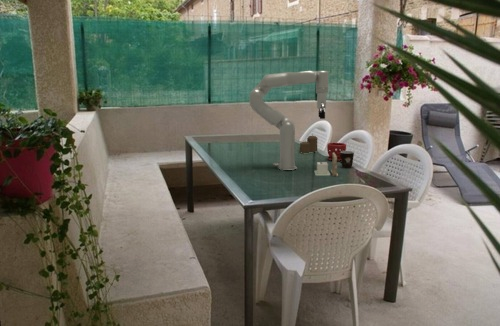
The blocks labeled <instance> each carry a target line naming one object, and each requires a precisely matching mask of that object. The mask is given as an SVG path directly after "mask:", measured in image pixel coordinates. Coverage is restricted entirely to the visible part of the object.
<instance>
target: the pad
mask: <svg viewBox="0 0 500 326" xmlns="http://www.w3.org/2000/svg"><path fill="white" fill-rule="evenodd" d="M313 172H314V175H315V177H319V176H321V177H323V176H324V177H325V176H326V177H329V176H331V173H330V171H329V170H328V174H318V173H317V170H314V171H313Z"/></svg>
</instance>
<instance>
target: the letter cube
mask: <svg viewBox="0 0 500 326" xmlns="http://www.w3.org/2000/svg"><path fill="white" fill-rule="evenodd" d="M328 167H329V163H328V162H327V161H321V162H320V161H319V162H318V161H317V162H316V171H317V173H318V174H328V171H329V169H328Z"/></svg>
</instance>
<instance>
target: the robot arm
mask: <svg viewBox="0 0 500 326" xmlns="http://www.w3.org/2000/svg"><path fill="white" fill-rule="evenodd" d="M313 83H315V94H316V95H317V97H316V98H317V99H316V101H317V102H316V108H317V110H318V118H319V119H322V120H325V119H326V110H325V109H326V108H327V94H329V71H327V70H305V71H297V72H295V71H294V72H293V71H292V72H291V71H289V72H288V71H285V72H277V73H269V74H265V75H264V76H263V77H262V79H260V81H259V83H258V84H256V86H254V88H253V89H252V90H251V91H250V93H249V97H248V98H249V99H248V102H249V106H250V108H251V109H252V111H253V112H254V113H256V114H257V115H259V116H260V117H261V118H262V119H263V120H265V121H266V122H267V123H268V124H270V125H271V126H274V127H275V128H277V129H278V130H279V162H273V163H272V164H273V166H275V167H277V169H278V168H279V169H283V170H292V171H295V170H294V169H296V170H297V169H298V167H297V166H296V164H295V161H296V157H295V156H296V154H295V153H296V150H295V149H296V148H295V145H296V144H295V142H296V140H295V139H296V137H295V135H296V134H295V132H296V127H295V123H294V122H293V121H292V120H291V119H290V118H288V117H287V116H286V115H285V114H284V113H282V112H281V111H279V110H278V109H273V108H272V107H271V106H269V105H268V104H267V103H266V102H265V101H264V100H263V99H264V97H265V96H266V95H267V94H268V93H269V92H270V91H271V89H272V88H281V87H291V86H295V85H306V84H313ZM279 169H278V170H279ZM283 170H282V171H283Z"/></svg>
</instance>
